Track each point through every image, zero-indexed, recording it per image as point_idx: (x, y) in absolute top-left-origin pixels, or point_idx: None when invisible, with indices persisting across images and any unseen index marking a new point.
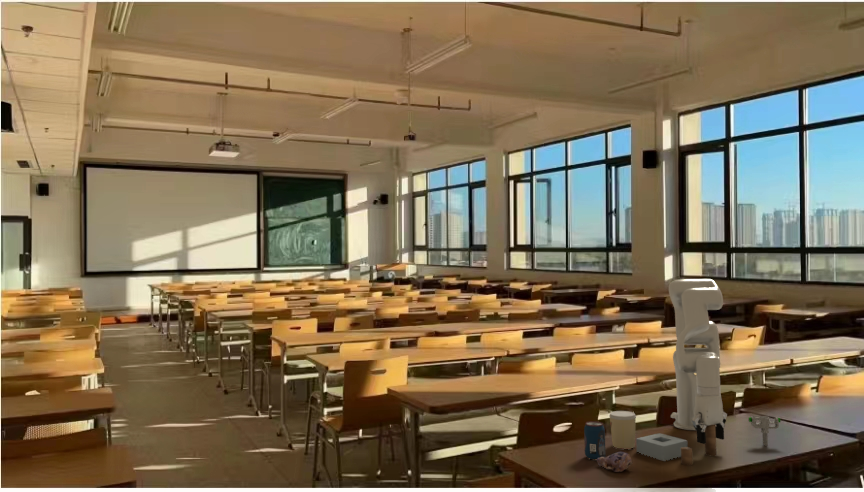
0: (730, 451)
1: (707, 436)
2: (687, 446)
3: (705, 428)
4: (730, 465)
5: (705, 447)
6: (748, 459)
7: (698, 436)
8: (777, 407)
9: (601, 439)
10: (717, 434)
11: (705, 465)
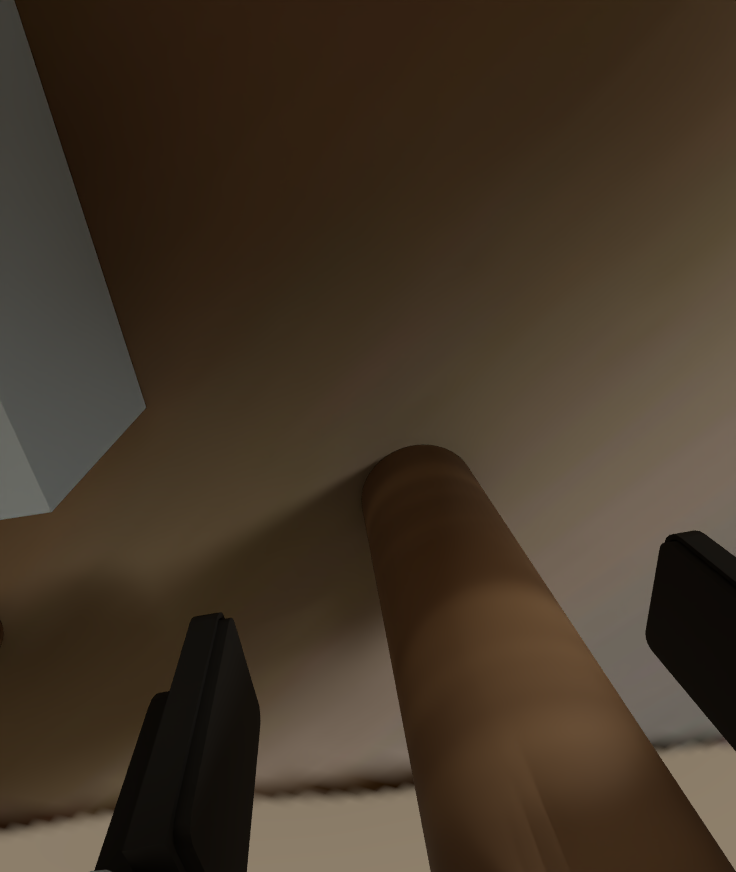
0: (666, 502)
1: (401, 705)
2: (98, 459)
3: (436, 857)
4: (307, 756)
5: (380, 519)
6: None
7: (137, 781)
8: None
9: None
10: (700, 621)
11: (101, 708)
